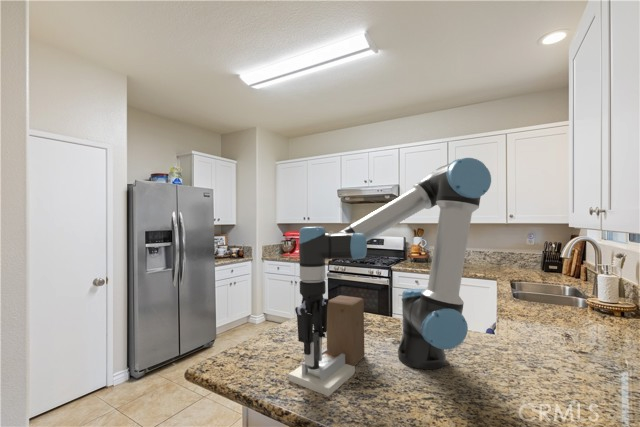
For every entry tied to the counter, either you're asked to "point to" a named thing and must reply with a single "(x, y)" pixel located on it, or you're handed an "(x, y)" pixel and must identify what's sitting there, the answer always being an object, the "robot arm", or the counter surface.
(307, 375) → the base
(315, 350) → the ram handle
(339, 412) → the counter surface
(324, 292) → the robot arm
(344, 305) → the wooden block
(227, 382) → the counter surface
